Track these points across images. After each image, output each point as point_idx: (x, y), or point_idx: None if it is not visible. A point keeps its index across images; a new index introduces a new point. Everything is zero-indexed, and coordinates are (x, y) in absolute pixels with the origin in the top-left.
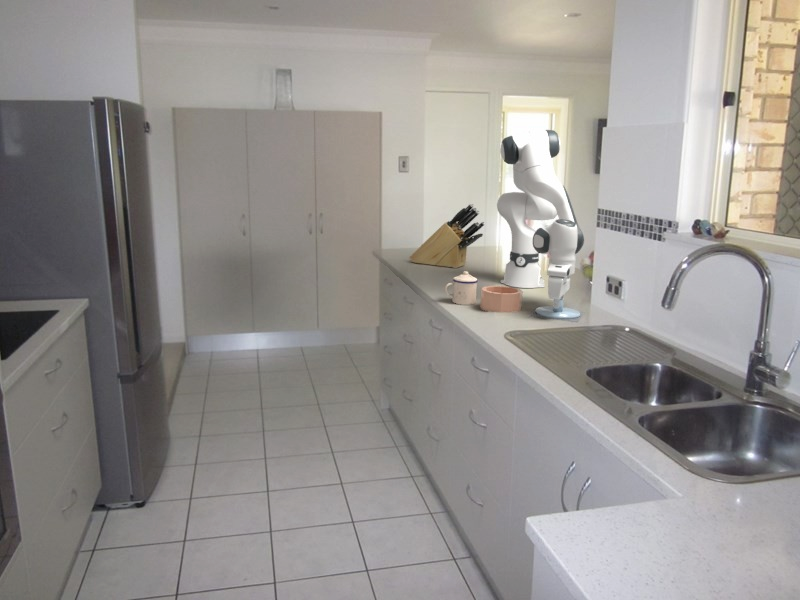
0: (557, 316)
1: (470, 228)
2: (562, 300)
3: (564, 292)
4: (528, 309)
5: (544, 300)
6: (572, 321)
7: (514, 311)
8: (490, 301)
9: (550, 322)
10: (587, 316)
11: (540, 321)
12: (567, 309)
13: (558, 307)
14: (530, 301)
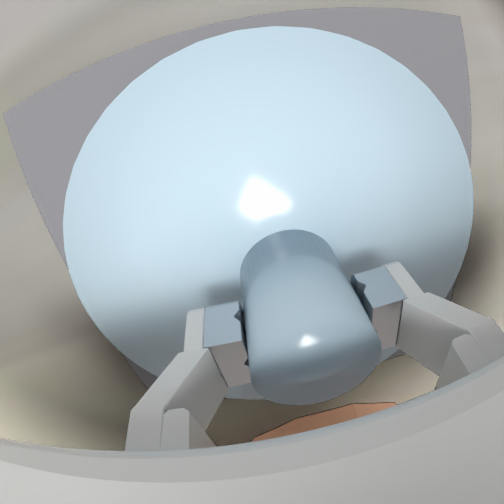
0: (470, 194)
1: None
2: (321, 332)
3: (391, 443)
4: (244, 413)
5: (15, 408)
6: (465, 54)
7: (379, 410)
8: None
9: (497, 201)
10: (77, 29)
11: (492, 255)
12: (131, 238)
13: (402, 270)
14: (86, 439)
